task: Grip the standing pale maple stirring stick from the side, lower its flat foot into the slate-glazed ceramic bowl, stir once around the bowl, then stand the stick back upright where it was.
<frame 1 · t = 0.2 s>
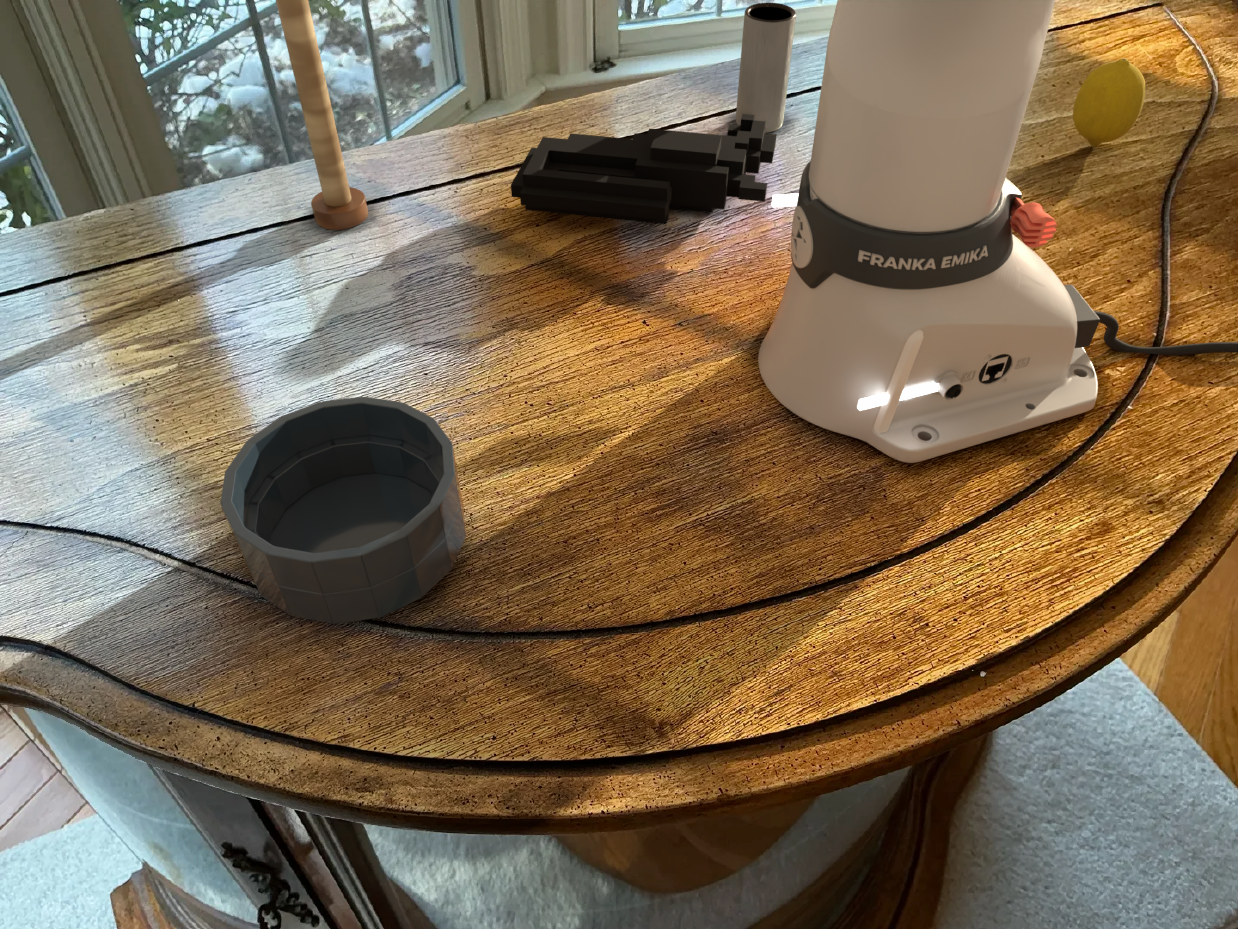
lemon: (1092, 147, 91), on the cabinet
bowl: (360, 544, 57), on the cabinet
light grey tube: (759, 124, 94), on the cabinet
stirring stick: (341, 215, 83), on the cabinet
tool: (647, 195, 85), on the cabinet
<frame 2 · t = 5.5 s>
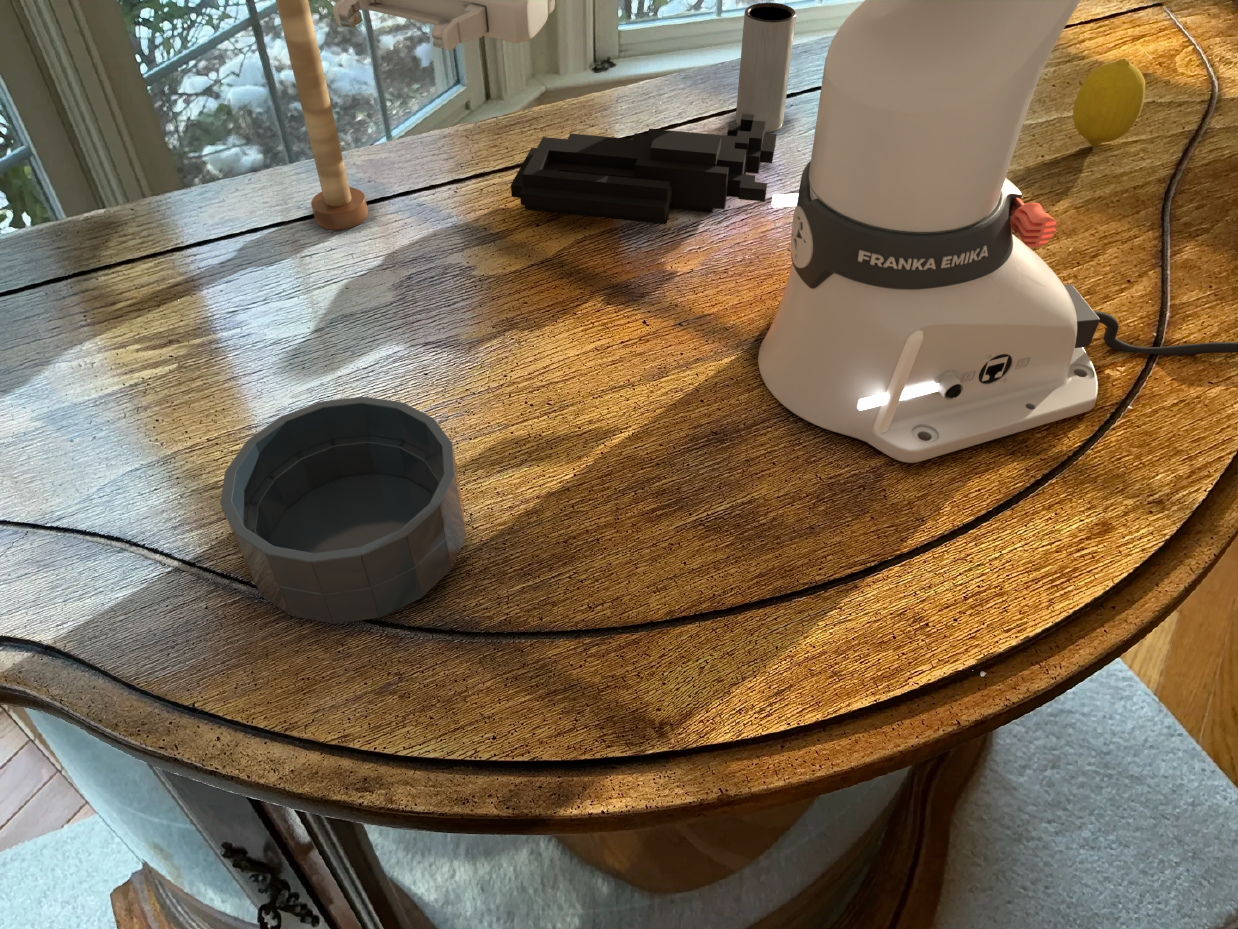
hand: (390, 29, 82), 11 cm above the cabinet, tool horizontal, fingers open, 8 cm apart
nothing on the cabinet moved.
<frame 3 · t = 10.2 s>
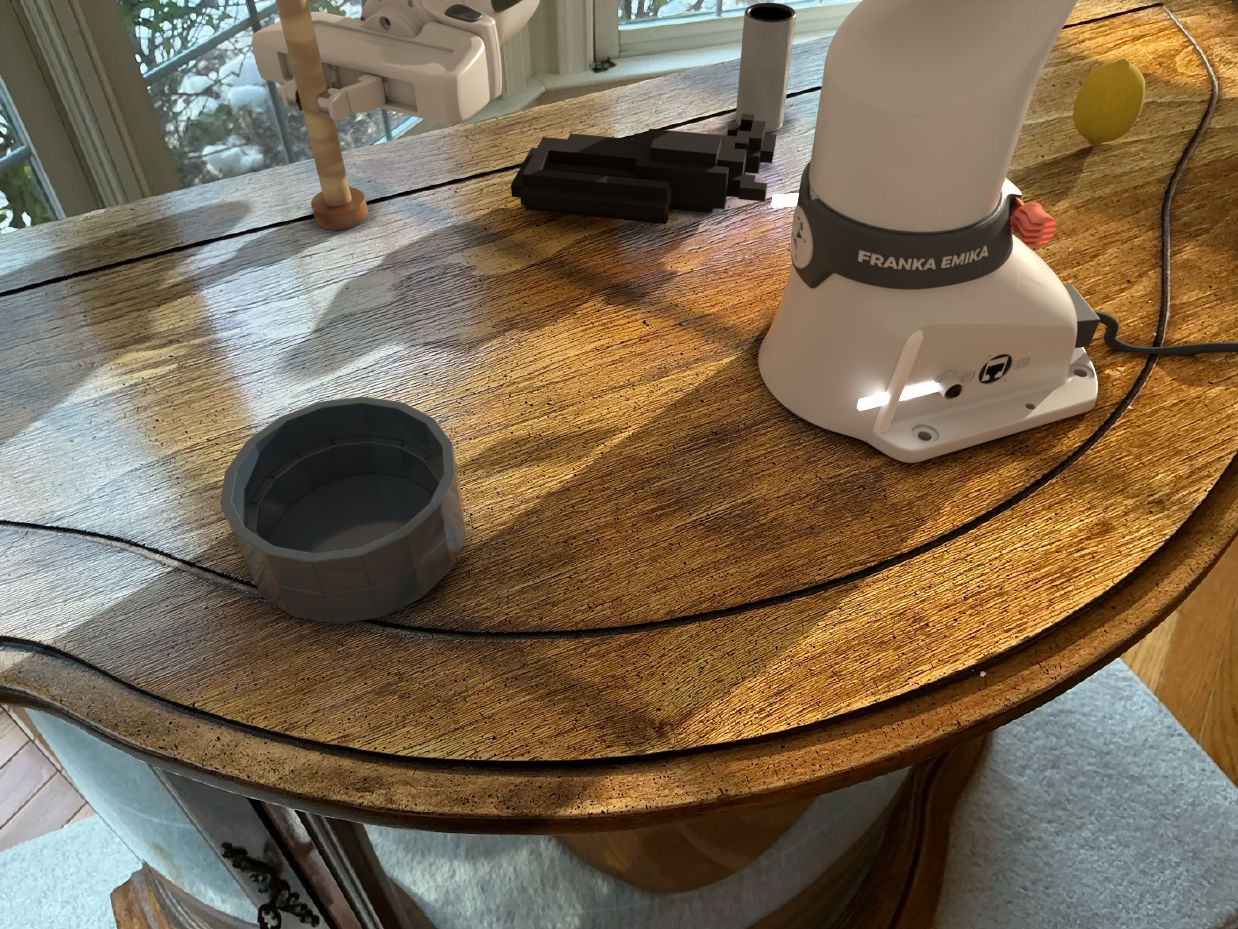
hand: (307, 105, 75), 10 cm above the cabinet, tool horizontal, fingers closed on stirring stick, 2 cm apart
stirring stick: (341, 215, 83), on the cabinet, touching gripper
everything else where it was.
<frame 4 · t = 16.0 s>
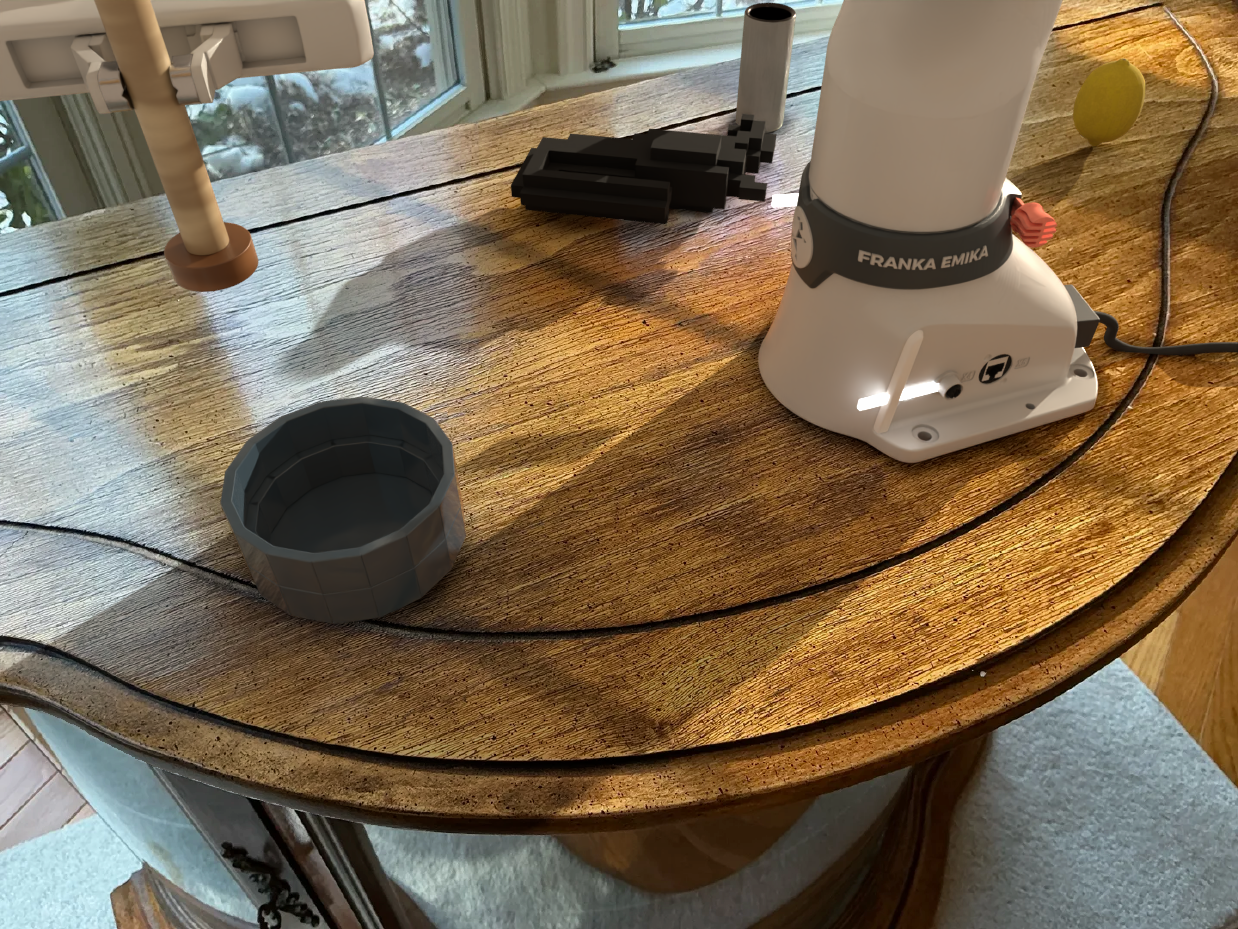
hand: (150, 93, 45), 24 cm above the cabinet, tool horizontal, fingers closed on stirring stick, 2 cm apart
stirring stick: (216, 268, 53), point 14 cm above the cabinet, touching gripper
everything else where it was.
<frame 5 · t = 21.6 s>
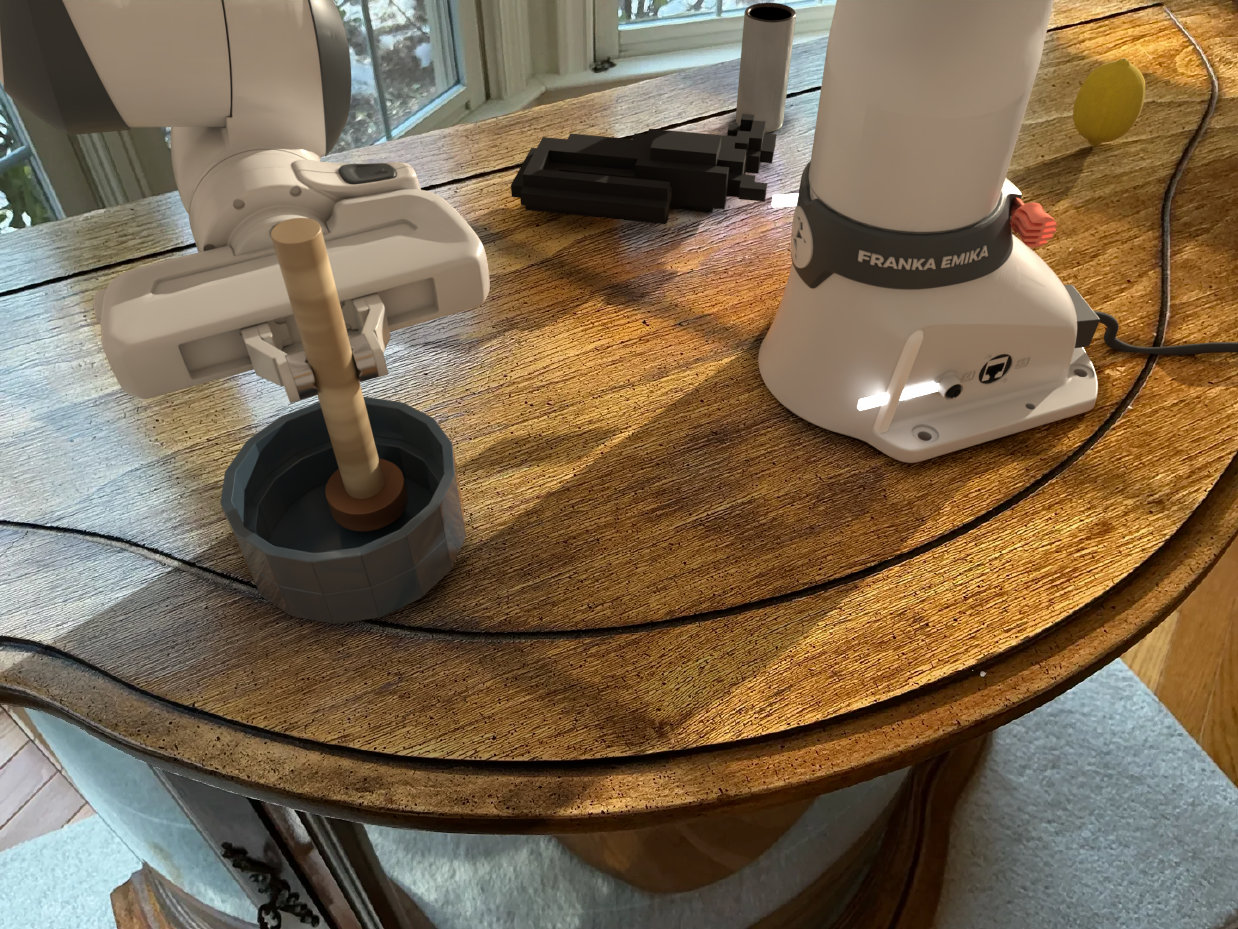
hand: (338, 378, 49), 12 cm above the cabinet, tool horizontal, fingers closed on stirring stick, 2 cm apart
stirring stick: (369, 502, 57), point 2 cm above the cabinet, touching gripper
everything else where it was.
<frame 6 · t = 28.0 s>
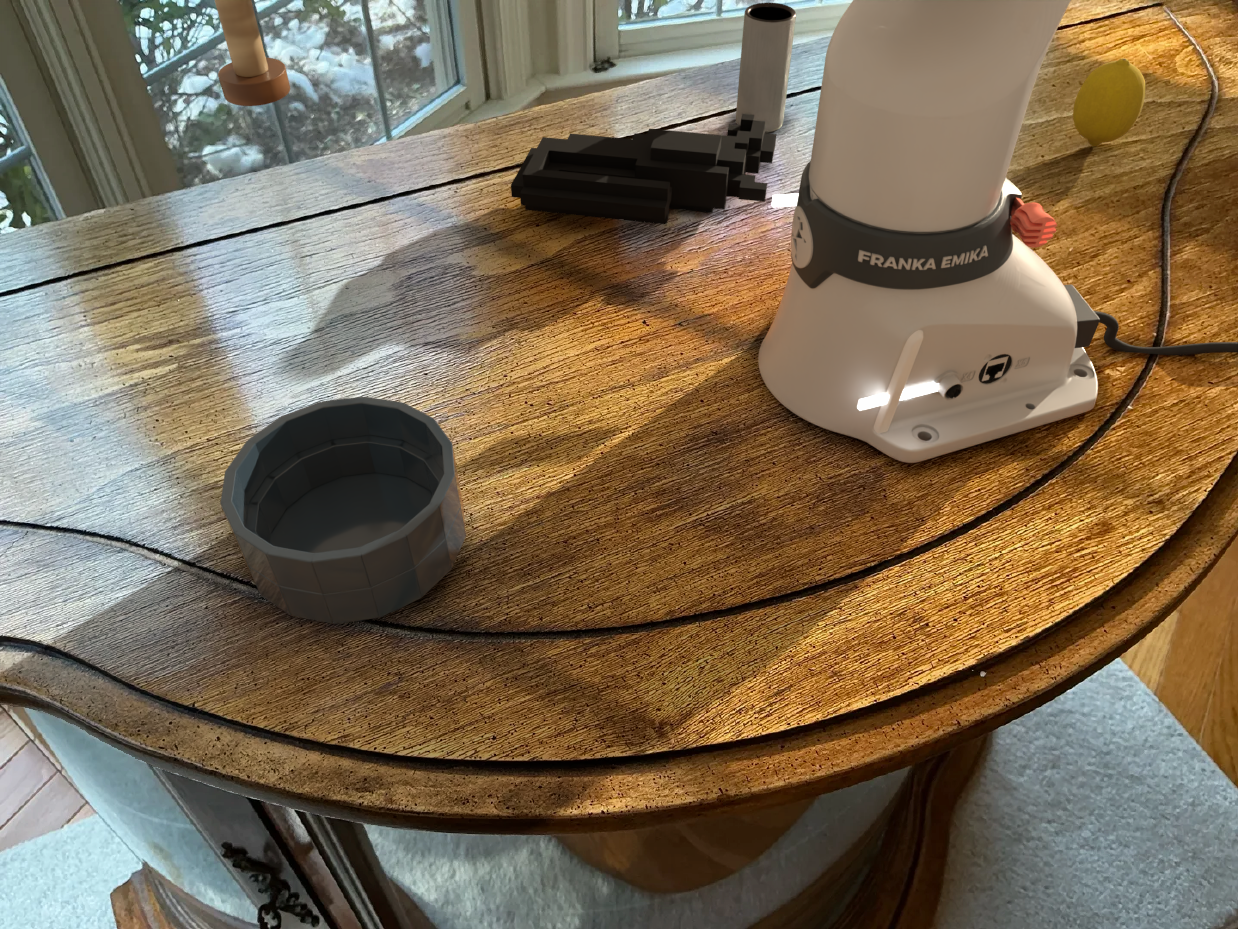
stirring stick: (257, 91, 67), point 14 cm above the cabinet, touching gripper
everything else where it was.
when the fingers open (10 cm above the cabinet, at t = 33.4 s): stirring stick stays where it is, on the cabinet.
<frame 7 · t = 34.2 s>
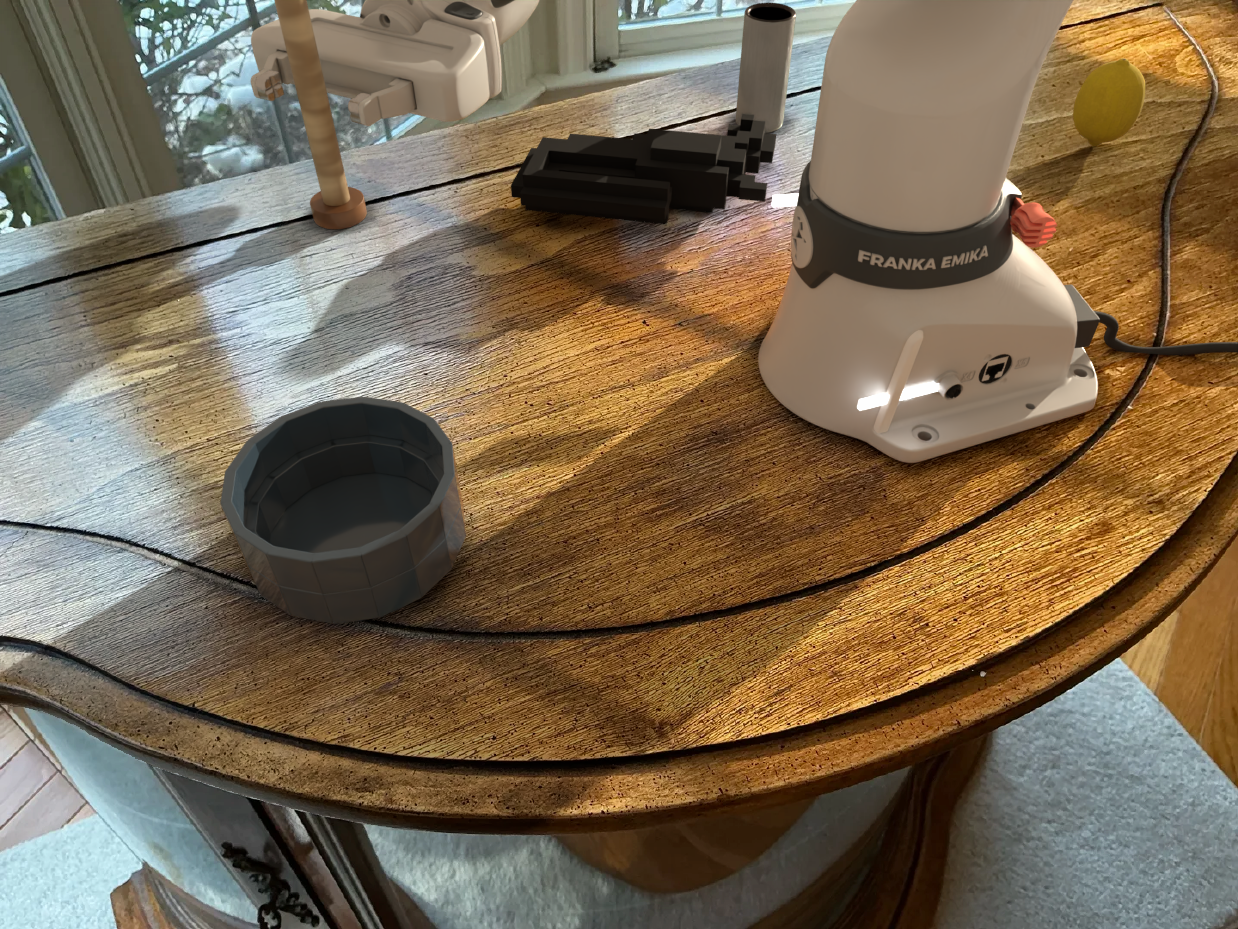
hand: (306, 102, 75), 10 cm above the cabinet, tool horizontal, fingers open, 8 cm apart
stirring stick: (340, 215, 83), on the cabinet
everything else where it was.
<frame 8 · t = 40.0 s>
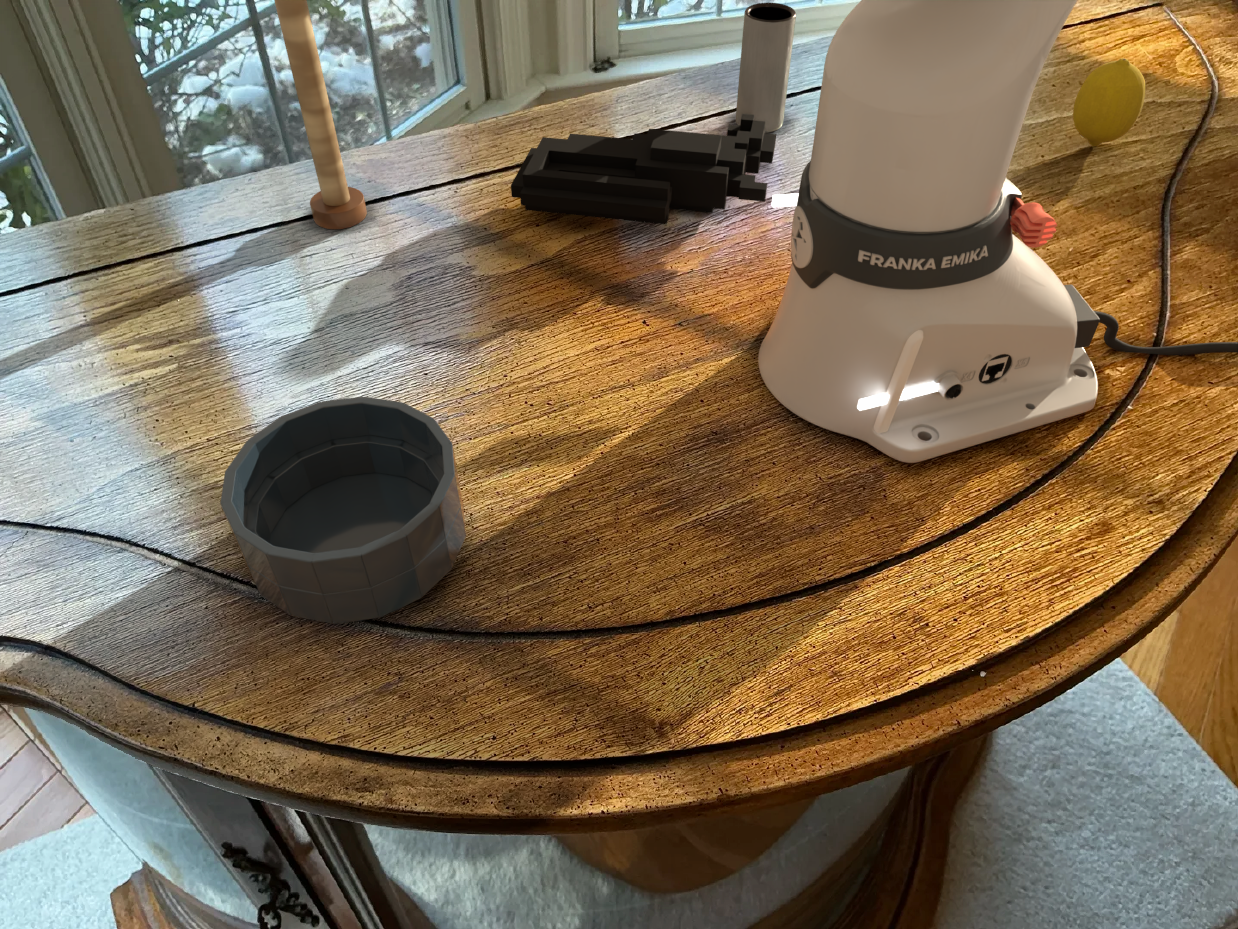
nothing on the cabinet moved.
at the end: stirring stick 0.1 cm from the target spot on the cabinet beside the bowl, on the cabinet; stirring stick tilted 0°; the gripper is holding nothing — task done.
